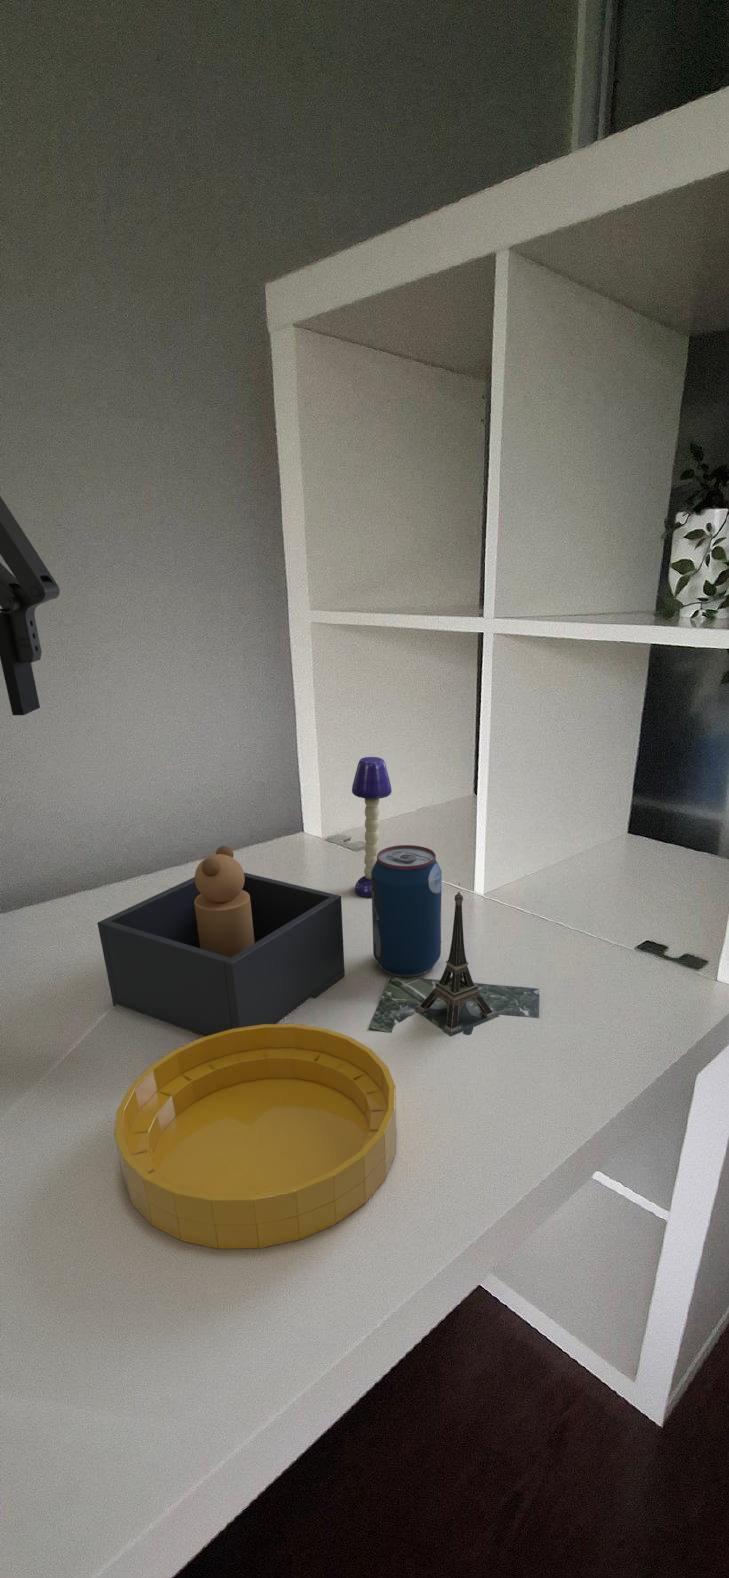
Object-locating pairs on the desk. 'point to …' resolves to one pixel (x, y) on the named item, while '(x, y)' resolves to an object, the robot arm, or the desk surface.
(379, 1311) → the desk surface
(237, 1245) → the bowl
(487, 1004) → the eiffel tower figurine
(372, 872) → the soda can
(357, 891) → the toy lamp
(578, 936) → the desk surface
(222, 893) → the toy bear
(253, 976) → the bin
